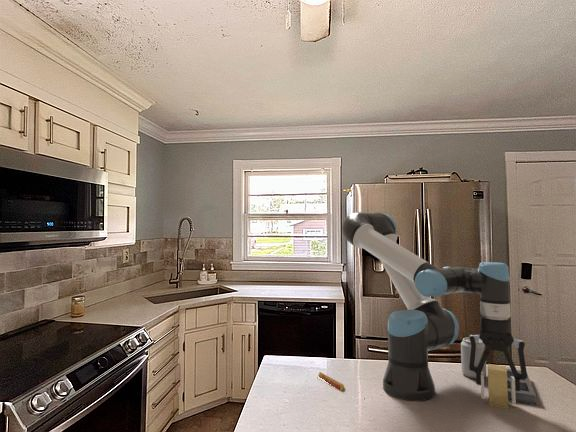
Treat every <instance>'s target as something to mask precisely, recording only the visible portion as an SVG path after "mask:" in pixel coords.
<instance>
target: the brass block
mask: <svg viewBox="0 0 576 432" xmlns="http://www.w3.org/2000/svg"><path fill="white" fill-rule="evenodd" d="M506 369H507V367H506V366H505V365H497V364H493V363H492V364H491V363H487V380H488V381H487V383H488V384H487V385H488V386H487V387H488V405H489V406H490V407H497V408H502V409H507V410H509V400H508V388H507V370H506Z"/></svg>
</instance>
